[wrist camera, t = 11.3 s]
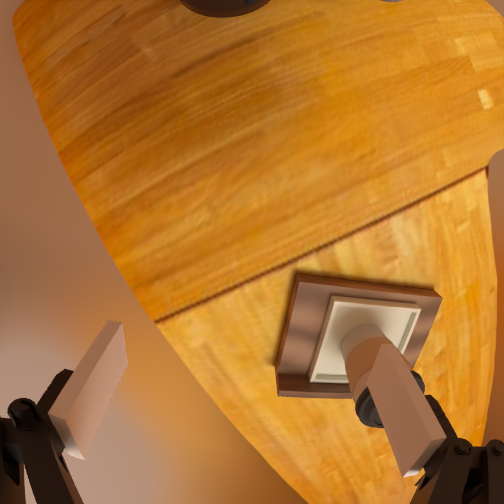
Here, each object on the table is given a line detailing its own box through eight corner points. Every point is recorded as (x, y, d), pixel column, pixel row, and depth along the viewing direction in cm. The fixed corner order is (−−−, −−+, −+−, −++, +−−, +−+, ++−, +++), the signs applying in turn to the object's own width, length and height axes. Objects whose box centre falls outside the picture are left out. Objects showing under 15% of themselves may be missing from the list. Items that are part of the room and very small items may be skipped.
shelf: (296, 273, 45) (303, 294, 38) (433, 290, 46) (455, 309, 39) (274, 367, 50) (277, 396, 43) (400, 372, 51) (414, 396, 45)
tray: (331, 295, 43) (334, 301, 41) (416, 303, 43) (421, 309, 42) (308, 374, 47) (309, 381, 45) (386, 376, 48) (389, 383, 46)
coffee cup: (321, 351, 45) (344, 425, 31) (362, 306, 43) (404, 372, 28) (361, 374, 47) (389, 442, 32) (400, 334, 44) (442, 396, 30)
